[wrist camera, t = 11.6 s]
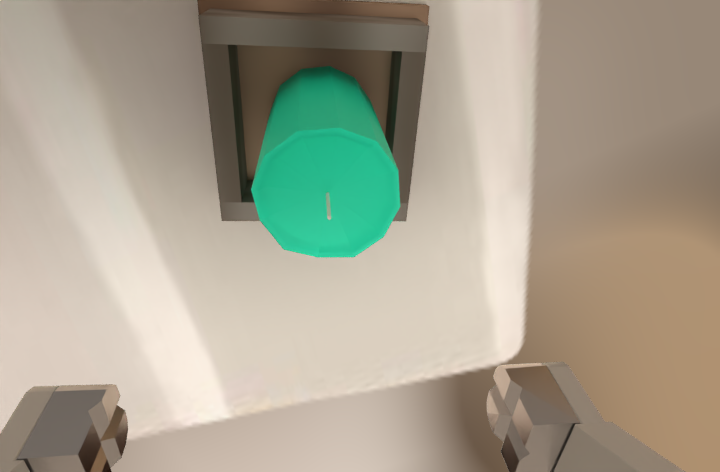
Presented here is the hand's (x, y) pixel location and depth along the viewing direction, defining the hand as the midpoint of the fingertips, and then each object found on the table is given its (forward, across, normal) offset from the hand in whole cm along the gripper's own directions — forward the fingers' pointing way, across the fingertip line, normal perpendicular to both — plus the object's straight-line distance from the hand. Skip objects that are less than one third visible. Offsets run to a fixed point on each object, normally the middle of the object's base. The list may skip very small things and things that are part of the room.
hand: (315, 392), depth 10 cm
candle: (+20, -1, 0) cm, 20 cm away
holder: (+21, -1, 0) cm, 21 cm away
